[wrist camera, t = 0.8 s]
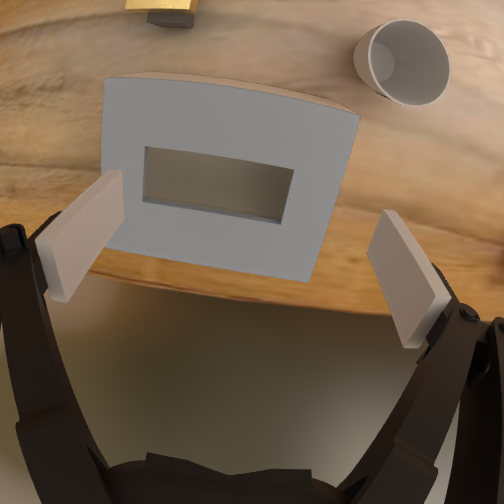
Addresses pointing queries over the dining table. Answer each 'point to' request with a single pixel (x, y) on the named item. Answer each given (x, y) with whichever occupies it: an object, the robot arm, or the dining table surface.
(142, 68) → the dining table surface
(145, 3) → the yellow wooden brick
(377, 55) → the cup
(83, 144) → the dining table surface
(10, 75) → the dining table surface
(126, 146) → the box
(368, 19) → the dining table surface
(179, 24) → the block
